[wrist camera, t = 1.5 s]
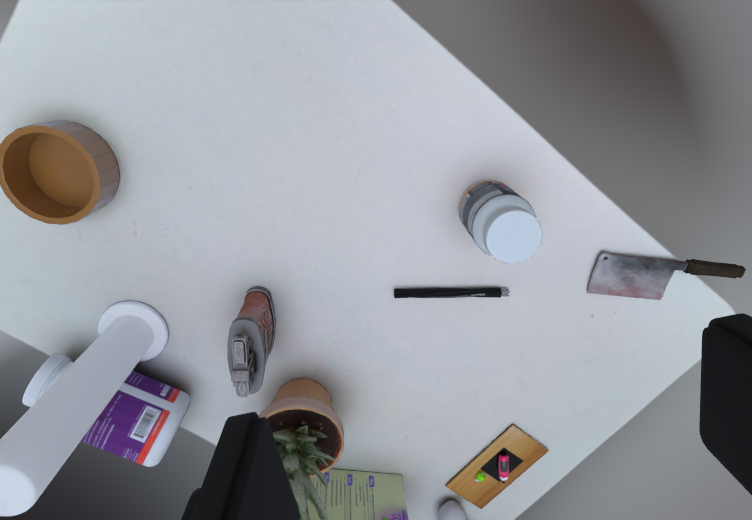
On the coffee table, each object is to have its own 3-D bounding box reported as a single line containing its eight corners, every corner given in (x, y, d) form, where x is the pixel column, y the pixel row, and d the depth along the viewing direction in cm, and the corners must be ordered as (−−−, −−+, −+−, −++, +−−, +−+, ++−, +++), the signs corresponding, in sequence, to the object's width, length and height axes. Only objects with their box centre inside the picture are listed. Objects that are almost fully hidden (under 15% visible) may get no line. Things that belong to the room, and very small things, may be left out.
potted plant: (304, 446, 60) (273, 683, 37) (244, 399, 57) (170, 624, 34) (364, 397, 57) (372, 617, 34) (305, 347, 55) (270, 548, 32)
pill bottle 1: (180, 421, 58) (59, 371, 56) (201, 382, 54) (72, 326, 51) (148, 484, 52) (8, 431, 49) (169, 445, 48) (17, 385, 45)
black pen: (510, 290, 52) (509, 298, 52) (507, 286, 53) (506, 294, 53) (394, 291, 51) (394, 300, 52) (394, 287, 52) (394, 295, 53)
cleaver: (587, 295, 53) (602, 253, 51) (583, 290, 54) (597, 248, 52) (728, 308, 54) (748, 267, 52) (722, 303, 55) (741, 263, 53)
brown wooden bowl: (7, 132, 45) (-24, 138, 41) (96, 111, 45) (73, 115, 41) (49, 220, 48) (24, 233, 45) (134, 201, 48) (115, 212, 44)
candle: (147, 369, 55) (-6, 592, 31) (88, 335, 53) (-121, 544, 30) (181, 325, 53) (45, 526, 30) (121, 287, 51) (-73, 470, 28)
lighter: (276, 352, 55) (261, 411, 45) (246, 352, 55) (224, 411, 45) (274, 286, 52) (257, 334, 42) (241, 285, 52) (217, 333, 42)
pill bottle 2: (524, 208, 50) (563, 240, 41) (479, 244, 51) (507, 283, 42) (491, 166, 48) (524, 189, 39) (445, 204, 49) (466, 235, 40)
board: (445, 485, 62) (447, 494, 61) (512, 424, 59) (516, 432, 58) (480, 507, 64) (483, 517, 63) (548, 449, 61) (552, 458, 60)
